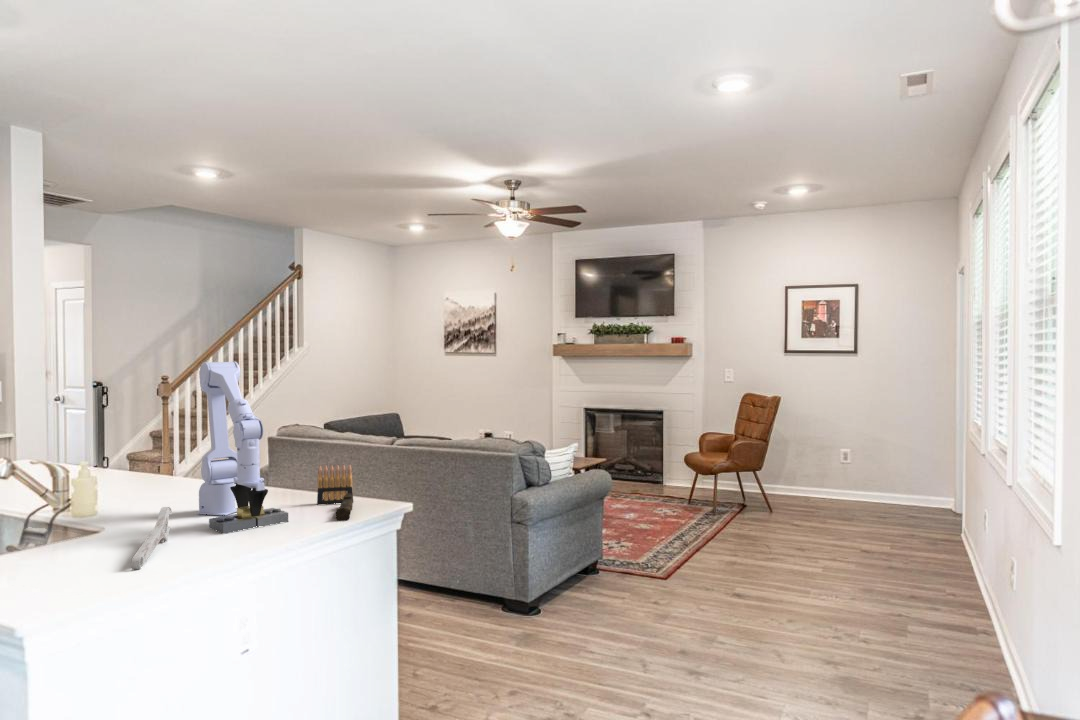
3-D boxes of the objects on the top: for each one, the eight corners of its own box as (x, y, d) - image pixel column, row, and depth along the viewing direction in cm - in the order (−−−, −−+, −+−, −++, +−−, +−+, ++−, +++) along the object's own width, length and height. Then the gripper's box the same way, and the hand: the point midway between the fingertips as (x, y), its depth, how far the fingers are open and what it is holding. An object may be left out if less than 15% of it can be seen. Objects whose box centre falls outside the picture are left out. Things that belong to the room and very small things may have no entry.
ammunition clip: (317, 504, 230) (316, 465, 230) (317, 503, 232) (317, 464, 232) (353, 503, 232) (352, 464, 232) (353, 501, 234) (352, 463, 234)
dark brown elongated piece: (350, 521, 210) (350, 505, 210) (335, 522, 209) (335, 505, 209) (359, 506, 229) (358, 491, 229) (345, 507, 228) (345, 492, 228)
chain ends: (223, 533, 196) (223, 522, 196) (209, 527, 202) (209, 517, 202) (288, 521, 209) (288, 511, 209) (273, 516, 215) (273, 506, 215)
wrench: (132, 583, 165) (165, 533, 194) (141, 583, 166) (173, 533, 195) (130, 548, 164) (164, 503, 193) (139, 548, 165) (171, 503, 193)
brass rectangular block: (242, 527, 202) (241, 509, 202) (237, 526, 204) (237, 507, 204) (263, 524, 207) (263, 505, 206) (258, 522, 209) (258, 504, 209)
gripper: (275, 465, 203) (275, 515, 203) (250, 459, 213) (251, 507, 213) (249, 468, 198) (250, 519, 198) (226, 462, 208) (226, 511, 208)
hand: (249, 513), depth 205 cm, fingers open, 7 cm apart
